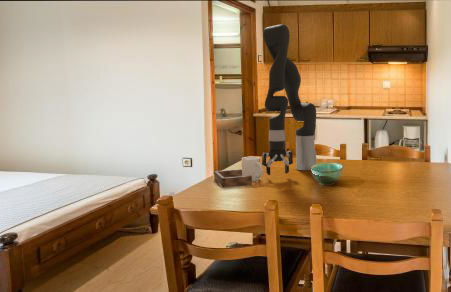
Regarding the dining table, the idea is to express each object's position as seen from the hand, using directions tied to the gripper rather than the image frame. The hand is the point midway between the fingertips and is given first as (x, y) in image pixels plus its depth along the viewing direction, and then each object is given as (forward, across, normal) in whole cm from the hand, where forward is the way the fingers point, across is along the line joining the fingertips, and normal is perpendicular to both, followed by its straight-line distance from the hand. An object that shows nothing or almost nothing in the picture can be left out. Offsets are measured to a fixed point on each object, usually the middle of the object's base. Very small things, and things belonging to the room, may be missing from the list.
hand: (277, 174), depth 234 cm
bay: (+2, +21, 0) cm, 21 cm away
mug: (+2, +12, 0) cm, 12 cm away
